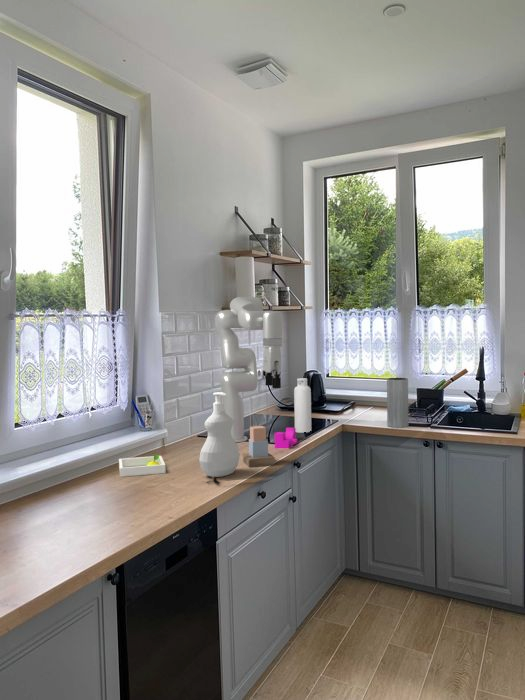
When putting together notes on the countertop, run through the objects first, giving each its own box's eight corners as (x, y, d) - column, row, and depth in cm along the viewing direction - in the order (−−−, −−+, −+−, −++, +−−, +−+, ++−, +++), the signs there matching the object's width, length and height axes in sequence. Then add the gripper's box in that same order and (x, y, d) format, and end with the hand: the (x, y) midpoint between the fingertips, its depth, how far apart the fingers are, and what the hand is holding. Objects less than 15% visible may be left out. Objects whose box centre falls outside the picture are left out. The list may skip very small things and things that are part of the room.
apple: (154, 482, 209) (156, 459, 207) (140, 479, 211) (141, 456, 210) (165, 476, 215) (166, 454, 214) (151, 473, 217) (152, 451, 216)
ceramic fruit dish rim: (119, 466, 213) (118, 458, 213) (161, 463, 218) (161, 455, 218) (120, 476, 198) (119, 468, 198) (165, 473, 202) (165, 464, 202)
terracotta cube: (262, 438, 218) (262, 425, 218) (266, 440, 213) (265, 427, 213) (250, 439, 217) (249, 426, 216) (253, 441, 212) (253, 428, 212)
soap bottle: (215, 482, 189) (213, 395, 188) (191, 476, 196) (189, 394, 195) (247, 472, 202) (246, 391, 201) (224, 467, 209) (223, 389, 208)
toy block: (288, 451, 236) (288, 434, 236) (274, 450, 239) (274, 433, 239) (300, 444, 250) (300, 428, 250) (288, 443, 253) (287, 427, 252)
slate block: (249, 454, 217) (248, 439, 217) (263, 453, 219) (263, 438, 219) (253, 457, 211) (252, 442, 211) (268, 456, 213) (267, 440, 213)
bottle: (314, 435, 270) (313, 378, 269) (306, 438, 263) (305, 379, 262) (299, 434, 274) (298, 377, 274) (291, 437, 268) (290, 379, 267)
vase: (388, 435, 266) (387, 379, 266) (386, 432, 276) (386, 377, 275) (409, 436, 265) (409, 379, 264) (407, 432, 275) (407, 377, 274)
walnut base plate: (242, 461, 219) (242, 453, 218) (267, 459, 221) (267, 451, 221) (249, 467, 209) (249, 459, 209) (274, 465, 212) (274, 457, 212)
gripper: (257, 342, 224) (258, 384, 225) (269, 344, 207) (269, 389, 208) (275, 342, 226) (275, 384, 227) (288, 343, 209) (288, 389, 210)
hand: (272, 386), depth 217 cm, fingers open, 9 cm apart
